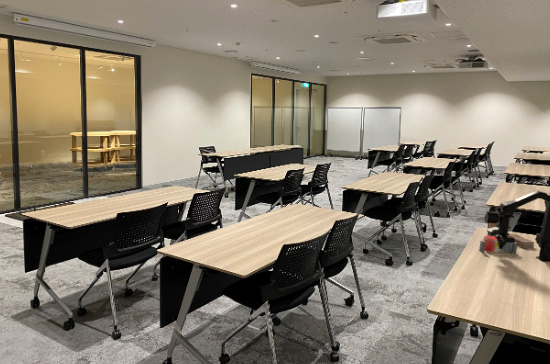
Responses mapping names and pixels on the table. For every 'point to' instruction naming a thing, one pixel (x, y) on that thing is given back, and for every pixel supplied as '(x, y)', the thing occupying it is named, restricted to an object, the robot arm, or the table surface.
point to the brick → (522, 241)
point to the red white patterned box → (491, 244)
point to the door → (508, 247)
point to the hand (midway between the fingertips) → (500, 249)
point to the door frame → (482, 243)
